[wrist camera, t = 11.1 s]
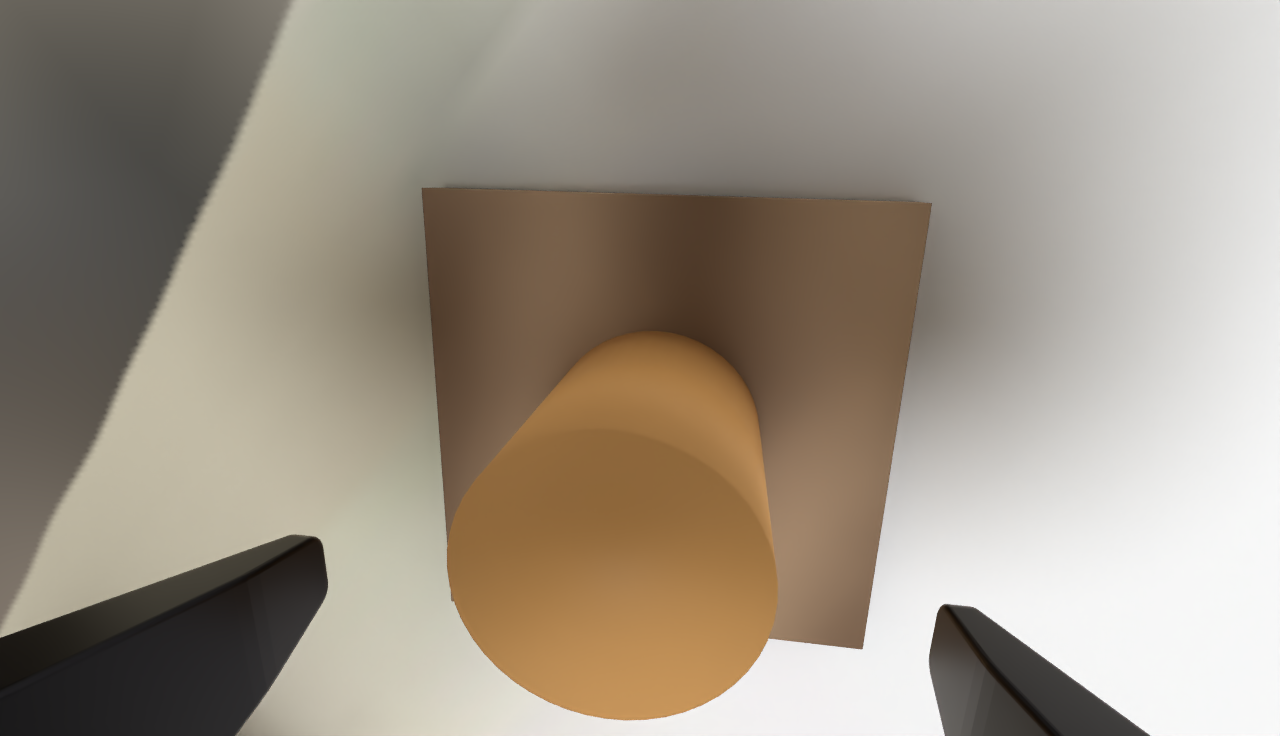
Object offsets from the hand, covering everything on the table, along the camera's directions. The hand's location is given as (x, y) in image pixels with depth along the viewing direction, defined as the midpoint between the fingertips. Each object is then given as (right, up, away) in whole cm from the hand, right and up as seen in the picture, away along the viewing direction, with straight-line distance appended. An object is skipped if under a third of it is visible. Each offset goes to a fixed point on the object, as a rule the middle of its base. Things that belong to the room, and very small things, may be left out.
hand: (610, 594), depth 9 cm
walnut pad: (+1, +2, +7) cm, 7 cm away
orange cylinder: (+1, +2, +6) cm, 6 cm away
